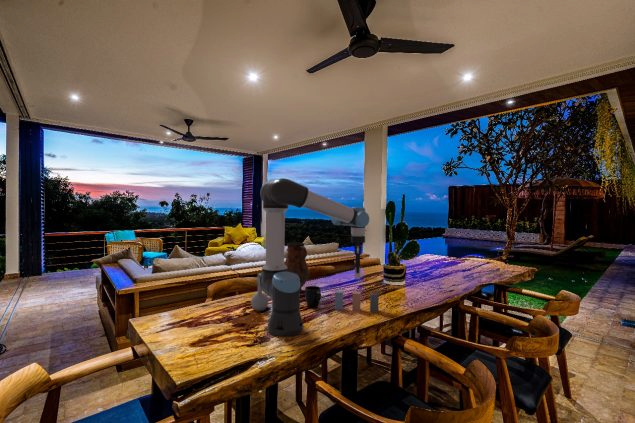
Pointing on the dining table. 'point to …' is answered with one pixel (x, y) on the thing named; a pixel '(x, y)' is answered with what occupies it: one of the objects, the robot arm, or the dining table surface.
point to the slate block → (338, 300)
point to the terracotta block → (356, 301)
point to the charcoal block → (374, 302)
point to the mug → (312, 295)
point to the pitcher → (297, 262)
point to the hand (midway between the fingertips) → (357, 278)
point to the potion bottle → (259, 298)
